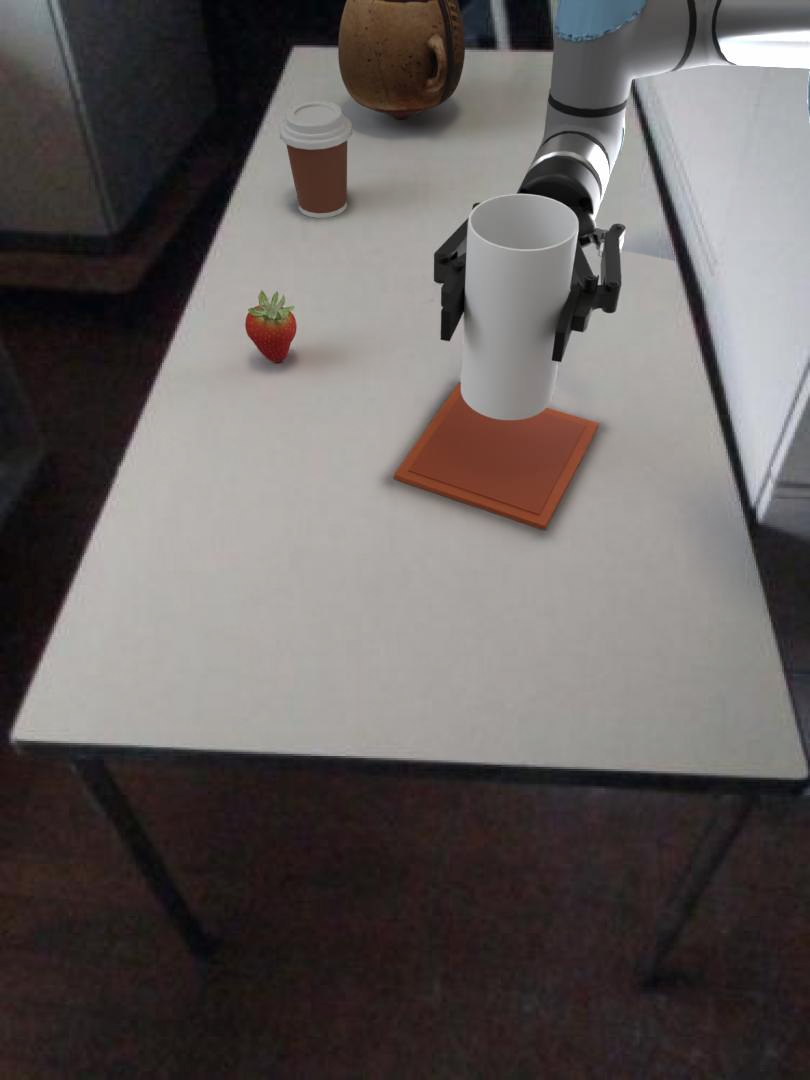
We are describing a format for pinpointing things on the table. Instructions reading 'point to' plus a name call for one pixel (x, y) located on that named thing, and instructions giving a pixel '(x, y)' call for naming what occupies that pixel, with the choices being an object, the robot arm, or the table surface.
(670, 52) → the robot arm
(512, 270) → the cup
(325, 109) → the coffee cup
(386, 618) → the table surface
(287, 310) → the fruit
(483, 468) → the mat
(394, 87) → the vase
